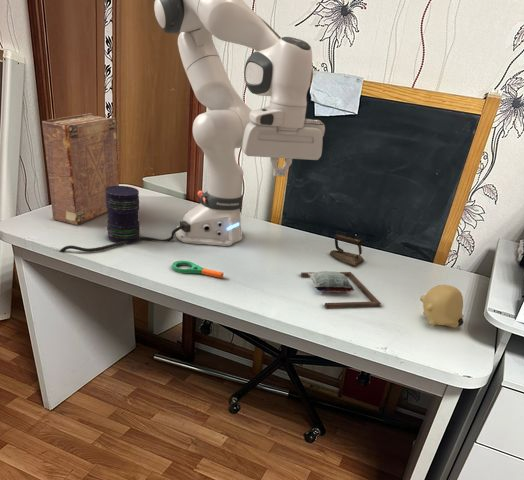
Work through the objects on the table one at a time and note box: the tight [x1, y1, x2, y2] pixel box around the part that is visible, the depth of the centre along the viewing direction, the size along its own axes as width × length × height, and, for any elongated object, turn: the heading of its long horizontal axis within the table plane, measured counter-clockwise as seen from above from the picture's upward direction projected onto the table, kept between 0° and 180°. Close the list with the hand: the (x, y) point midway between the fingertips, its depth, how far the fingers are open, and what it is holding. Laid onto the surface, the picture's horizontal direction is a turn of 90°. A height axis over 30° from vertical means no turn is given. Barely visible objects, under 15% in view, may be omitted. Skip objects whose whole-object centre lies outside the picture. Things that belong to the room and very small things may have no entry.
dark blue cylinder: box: [105, 185, 141, 245], centre depth 153 cm, size 10×10×15 cm
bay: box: [300, 271, 382, 309], centre depth 142 cm, size 16×20×1 cm
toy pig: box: [419, 284, 464, 328], centre depth 130 cm, size 10×12×11 cm
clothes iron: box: [329, 233, 365, 268], centre depth 161 cm, size 7×11×10 cm, turn 57°
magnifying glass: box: [171, 260, 224, 279], centre depth 141 cm, size 15×6×2 cm, turn 71°
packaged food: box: [308, 270, 355, 293], centre depth 141 cm, size 9×12×5 cm
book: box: [41, 112, 120, 226], centre depth 165 cm, size 25×9×30 cm, turn 162°
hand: (279, 175), depth 128 cm, fingers closed
